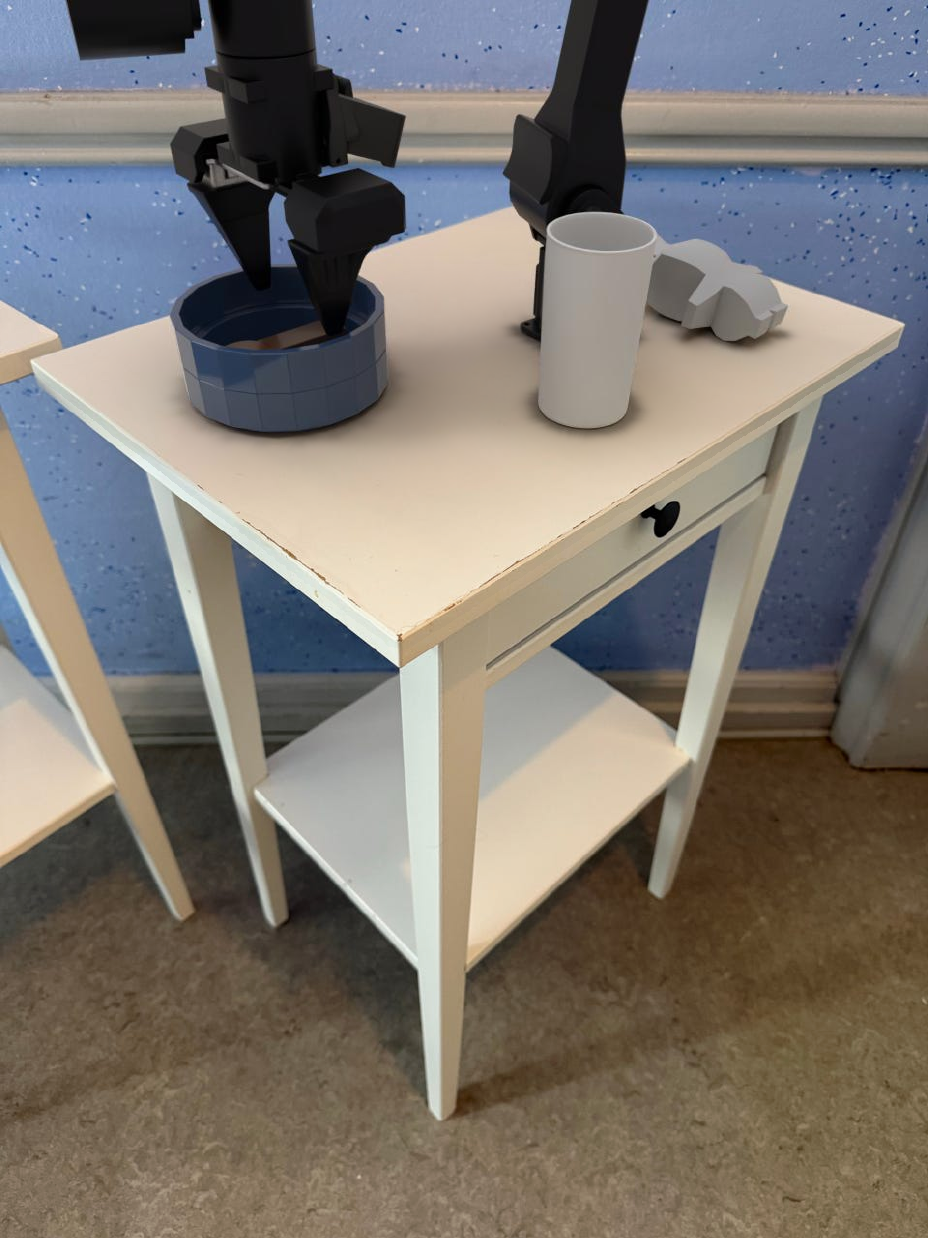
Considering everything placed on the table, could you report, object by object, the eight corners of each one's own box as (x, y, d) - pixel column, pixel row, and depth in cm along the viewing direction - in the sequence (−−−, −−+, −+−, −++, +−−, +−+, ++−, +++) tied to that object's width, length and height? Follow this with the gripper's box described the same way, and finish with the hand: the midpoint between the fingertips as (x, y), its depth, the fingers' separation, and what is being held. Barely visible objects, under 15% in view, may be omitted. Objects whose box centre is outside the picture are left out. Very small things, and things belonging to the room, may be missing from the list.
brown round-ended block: (355, 369, 66) (352, 330, 64) (242, 410, 62) (235, 369, 60) (327, 351, 68) (324, 313, 66) (216, 389, 64) (209, 350, 62)
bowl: (427, 393, 65) (426, 312, 61) (252, 461, 58) (237, 376, 54) (318, 324, 73) (311, 248, 69) (153, 377, 66) (134, 297, 62)
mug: (597, 442, 60) (620, 261, 52) (515, 409, 63) (524, 233, 55) (671, 385, 66) (702, 213, 58) (592, 357, 69) (611, 191, 61)
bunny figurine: (748, 312, 66) (590, 231, 72) (726, 373, 70) (578, 292, 76) (814, 275, 71) (661, 203, 77) (790, 334, 75) (647, 261, 81)
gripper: (478, 58, 51) (474, 325, 61) (299, 7, 61) (321, 243, 72) (308, 88, 45) (335, 375, 56) (143, 27, 56) (193, 278, 66)
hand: (297, 310), depth 63 cm, fingers open, 9 cm apart
